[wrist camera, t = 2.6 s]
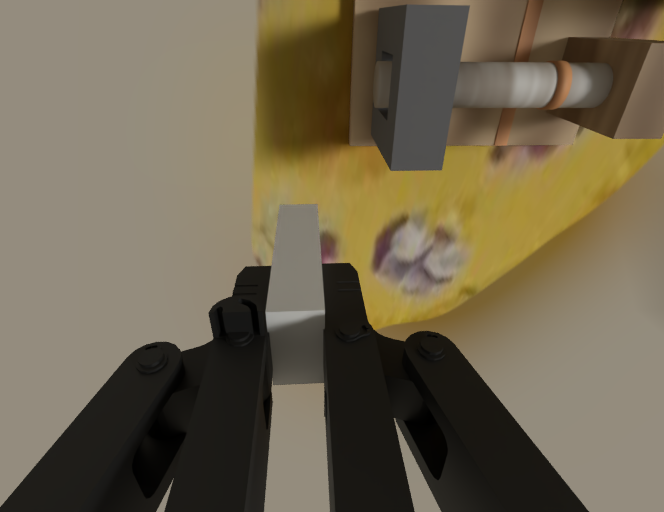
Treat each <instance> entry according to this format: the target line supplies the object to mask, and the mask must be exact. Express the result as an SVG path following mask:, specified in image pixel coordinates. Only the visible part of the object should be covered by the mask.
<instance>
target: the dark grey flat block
mask: <svg viewBox="0 0 664 512" xmlns="http://www.w3.org/2000/svg"><path fill="white" fill-rule="evenodd" d="M469 8H470V5H410V4H407V5H399V6H392V7H384V8H379V17H378V32H377V47H376V62H377V61H392V71H391V83H390V94H389V106H388V108H375V107H374V102H373V109H372V124H371V136H372V138H373V139H374V141H375V143H376V145H377V147H378V148H379V150H380V152H381V154H382V156H383V158H384V159H385V161H386V163H387V165H388V167H389V168H390V170H391V171H411V170H442V166H443V160H444V154H445V148H446V143H447V137H448V131H449V125H450V119H451V113H452V108H453V102H454V96H455V90H456V84H457V78H458V73H459V67H460V61H461V55H462V49H463V43H464V38H465V32H466V26H467V20H468V14H469ZM375 66H376V63H375Z"/></svg>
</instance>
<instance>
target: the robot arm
mask: <svg viewBox="0 0 664 512" xmlns="http://www.w3.org/2000/svg"><path fill="white" fill-rule="evenodd" d="M209 318H210V323H211V328H212V333H213V337H214V338H213V340H212V341H210V342H208V343H207V344H205V345H202V346H200V347H196V348H193V349H189V350H185V351H182V352H181V351H180V349H178V347H177V346H176V345H175V344H172V343H169V342H155V343H151V344H147V345H145V346H142V347H141V348H139V349H137V350H135V351H134V352H133V353H132V354H130V355H129V356H128V357H127V358H126V359H125V361H124V362H123V363H122V364H121V365H120V366H119V368H118V369H117V370H116V371H115V372H114V373H113V375H112V376H111V377H110V378H109V380H108V381H107V382H106V383H105V384H104V385H103V387H102V388H101V389H100V390H99V391H98V392H97V394H96V395H95V396H94V397H93V398H92V399H91V401H90V402H89V403H88V404H87V405H86V407H85V408H84V409H83V410H82V411H81V413H80V414H79V415H78V416H77V417H76V418H75V420H74V421H73V422H72V423H71V424H70V425H69V427H68V428H67V429H66V430H65V431H64V433H63V434H62V435H61V436H60V437H59V438H58V440H57V441H56V442H55V443H54V445H53V446H52V447H51V448H50V449H49V450H48V451H47V453H46V454H45V455H44V456H43V457H42V459H41V460H40V461H39V462H38V463H37V465H36V466H35V467H34V468H33V469H32V470H31V472H30V473H29V474H28V475H27V476H26V477H25V479H24V480H23V481H22V482H21V483H20V485H19V486H18V487H17V488H16V489H15V490H14V492H13V493H12V494H11V495H10V496H9V497H8V499H7V500H6V501H5V502H4V504H3V505H2V506H1V507H0V512H156V511H157V509H158V507H159V505H160V503H161V501H162V499H163V497H164V495H165V493H166V492H167V490H168V488H169V486H170V484H171V482H172V480H173V478H174V480H173V483H172V487H171V490H170V494H169V497H168V501H167V505H166V508H165V512H264V502H265V490H266V477H267V464H268V451H269V440H270V428H271V415H272V403H273V401H272V392H271V387H272V379H273V385H285V384H308V383H324V386H325V387H324V389H325V391H324V393H325V394H324V398H325V399H324V403H325V404H324V407H325V409H324V416H325V420H326V438H327V439H326V440H327V461H328V481H329V500H330V512H414V507H413V503H412V498H411V493H410V489H409V484H408V480H407V476H406V471H405V467H404V462H403V457H402V453H401V449H400V445H399V440H398V435H397V431H396V426H395V422H394V418H396V422H397V424H398V426H399V428H400V430H401V432H402V434H403V436H404V438H405V440H406V442H407V444H408V446H409V448H410V450H411V452H412V454H413V456H414V458H415V460H416V462H417V464H418V465H419V467H420V470H421V472H422V474H423V476H424V478H425V480H426V482H427V484H428V486H429V488H430V490H431V491H432V494H433V496H434V497H435V500H436V502H437V504H438V506H439V508H440V510H441V511H442V512H589V511H588V510H587V509H586V508H585V506H584V505H583V504H582V502H581V501H580V500H579V499H578V497H577V496H576V495H575V494H574V493H573V492H572V490H571V489H570V488H569V486H568V485H567V484H566V483H565V481H564V480H563V479H562V478H561V476H560V475H559V474H558V473H557V471H556V470H555V469H554V468H553V466H552V465H551V464H550V463H549V461H548V460H547V459H546V458H545V456H544V455H543V454H542V453H541V451H540V450H539V449H538V448H537V446H536V445H535V444H534V443H533V442H532V440H531V439H530V438H529V436H528V435H527V434H526V433H525V432H524V430H523V429H522V428H521V427H520V425H519V424H518V423H517V421H515V419H514V418H513V417H512V415H511V414H510V413H509V412H508V410H507V409H506V408H505V407H504V405H503V404H502V403H501V402H500V400H499V399H498V398H497V397H496V395H495V394H494V393H493V392H492V390H491V389H490V388H489V387H488V386H487V384H486V383H485V382H484V380H483V379H482V378H481V377H480V375H479V374H478V373H477V372H476V371H475V369H474V368H473V367H472V365H471V364H470V363H469V362H468V360H467V359H466V358H465V357H464V355H463V354H462V353H461V352H460V350H459V349H458V348H457V347H456V345H455V344H454V343H453V342H452V341H450V340H449V339H448V338H447V337H445V336H443V335H441V334H439V333H435V332H430V331H420V332H416V333H414V334H412V335H410V336H409V337H408V338H407V339H406V341H405V342H404V341H400V340H395V339H391V338H388V337H384V336H383V335H380V334H378V333H377V332H376V331H375V330H373V328H372V326H371V325H370V324H369V322H368V320H367V315H366V310H365V306H364V301H363V296H362V292H361V287H360V283H359V277H358V273H357V271H356V270H355V268H354V267H353V266H352V265H351V264H350V263H330V264H322V262H321V248H320V234H319V220H318V206H317V204H298V205H280V207H279V214H278V222H277V229H276V237H275V244H274V252H273V259H272V266H251V267H245V268H244V269H243V270H242V271H241V272H240V273H239V274H238V275H237V279H236V283H235V287H234V290H233V296H232V297H228V298H226V299H223V300H221V301H219V302H218V303H216V304H215V305H214V306H213V307H212V308H211V310H210V311H209Z"/></svg>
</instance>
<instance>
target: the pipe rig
mask: <svg viewBox="0 0 664 512" xmlns="http://www.w3.org/2000/svg"><path fill="white" fill-rule="evenodd" d="M622 2H623V0H354V6H353V35H352V63H351V92H350V121H349V145H350V146H377V145H376V143H375V141H374V139H373V138H372V136H371V124H372V109H373V102H374V107H375V108H388V106H389V94H390V83H391V71H392V61H377V62H376V47H377V32H378V17H379V8H384V7H392V6H399V5H407V4H410V5H470V8H469V14H468V20H467V26H466V32H465V38H464V43H463V49H462V55H461V61H460V67H459V73H458V78H457V84H456V90H455V96H454V102H453V108H452V113H451V119H450V125H449V131H448V137H447V143H446V146H459V145H494V146H507V145H573V142H574V139H575V137H576V134H577V131H578V128H579V126H582V127H584V128H587V129H590V130H592V131H595V132H597V133H600V134H602V135H605V136H607V137H610V138H612V139H661V138H662V135H663V133H664V41H657V40H641V39H626V38H610V36H611V33H612V30H613V27H614V25H615V22H616V19H617V16H618V13H619V10H620V7H621V5H622ZM375 63H376V66H375Z"/></svg>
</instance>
